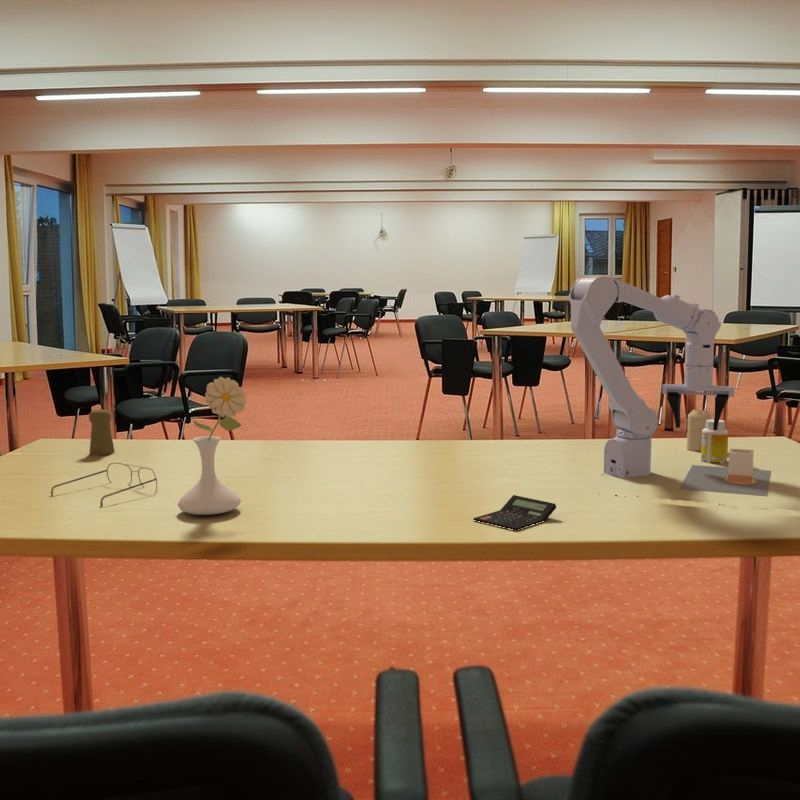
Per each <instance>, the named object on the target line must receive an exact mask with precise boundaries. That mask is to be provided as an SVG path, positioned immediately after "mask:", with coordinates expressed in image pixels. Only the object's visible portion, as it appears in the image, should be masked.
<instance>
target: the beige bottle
mask: <svg viewBox="0 0 800 800" xmlns="http://www.w3.org/2000/svg"><path fill="white" fill-rule="evenodd" d="M712 417H713V416H712V414H711V413H710V412H709V410H708V409H704V410H701V409H696V408H694V409H692V411H690V413H688V414H687V428H686V429H687V434H686V449H687V450H688V451H692V452H701V448H702V430H703V429H704V428H707V427H706V420H709V419H713V418H712Z"/></svg>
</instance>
